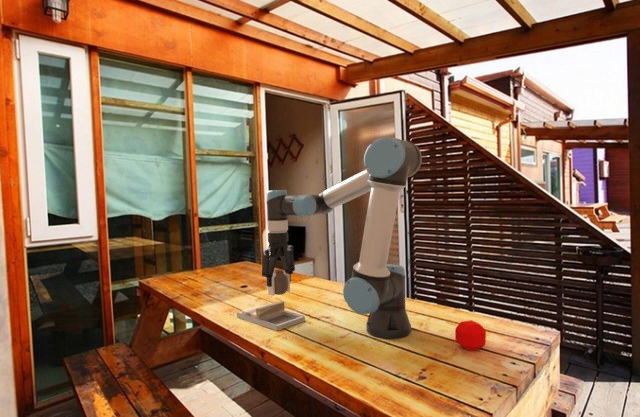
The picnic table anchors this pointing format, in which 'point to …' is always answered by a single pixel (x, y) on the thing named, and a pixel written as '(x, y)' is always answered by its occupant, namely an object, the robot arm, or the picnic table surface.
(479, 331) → the ball
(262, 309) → the cover
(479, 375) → the picnic table surface
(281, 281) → the vase
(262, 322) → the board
